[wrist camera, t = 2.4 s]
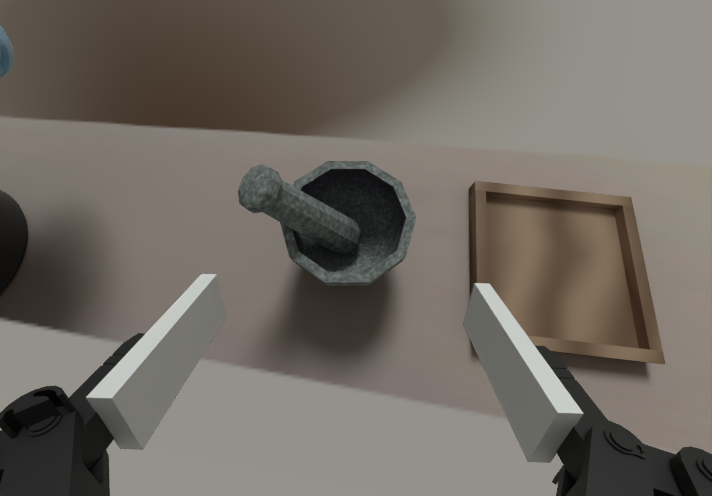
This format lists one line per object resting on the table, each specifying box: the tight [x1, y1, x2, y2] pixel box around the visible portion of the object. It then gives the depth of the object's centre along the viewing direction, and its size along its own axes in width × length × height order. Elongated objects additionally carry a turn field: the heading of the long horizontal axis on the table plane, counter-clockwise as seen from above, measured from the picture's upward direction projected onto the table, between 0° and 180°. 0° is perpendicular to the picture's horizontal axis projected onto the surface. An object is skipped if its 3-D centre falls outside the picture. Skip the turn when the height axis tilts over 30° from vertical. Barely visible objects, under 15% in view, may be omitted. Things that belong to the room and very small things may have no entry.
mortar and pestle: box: [238, 161, 416, 286], centre depth 20 cm, size 11×9×12 cm
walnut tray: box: [469, 181, 665, 364], centre depth 25 cm, size 15×15×2 cm
